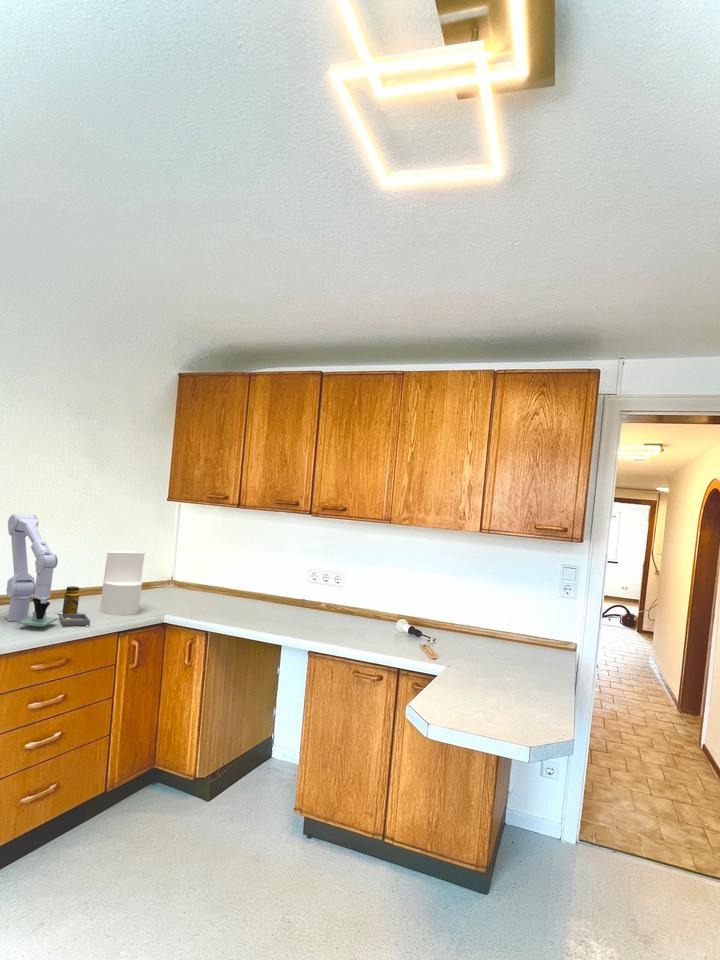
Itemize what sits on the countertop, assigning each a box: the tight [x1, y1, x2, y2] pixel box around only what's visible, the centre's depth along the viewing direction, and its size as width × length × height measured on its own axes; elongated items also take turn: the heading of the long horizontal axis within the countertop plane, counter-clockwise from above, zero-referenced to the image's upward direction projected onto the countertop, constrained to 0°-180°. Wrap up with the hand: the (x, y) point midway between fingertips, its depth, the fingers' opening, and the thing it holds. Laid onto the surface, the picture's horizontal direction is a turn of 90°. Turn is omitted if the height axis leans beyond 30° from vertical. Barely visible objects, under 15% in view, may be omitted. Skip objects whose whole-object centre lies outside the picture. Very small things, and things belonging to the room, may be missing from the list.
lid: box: [17, 611, 59, 628], centre depth 228 cm, size 12×10×4 cm
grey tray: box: [58, 613, 91, 627], centre depth 239 cm, size 12×10×2 cm
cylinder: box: [99, 549, 145, 616], centre depth 270 cm, size 17×17×28 cm
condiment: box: [61, 585, 80, 614], centre depth 254 cm, size 7×8×12 cm
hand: (38, 617), depth 228 cm, fingers open, 4 cm apart
